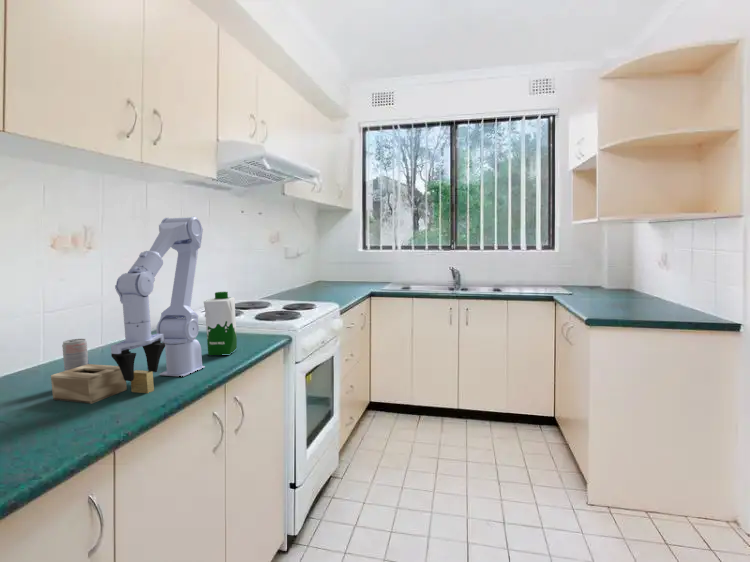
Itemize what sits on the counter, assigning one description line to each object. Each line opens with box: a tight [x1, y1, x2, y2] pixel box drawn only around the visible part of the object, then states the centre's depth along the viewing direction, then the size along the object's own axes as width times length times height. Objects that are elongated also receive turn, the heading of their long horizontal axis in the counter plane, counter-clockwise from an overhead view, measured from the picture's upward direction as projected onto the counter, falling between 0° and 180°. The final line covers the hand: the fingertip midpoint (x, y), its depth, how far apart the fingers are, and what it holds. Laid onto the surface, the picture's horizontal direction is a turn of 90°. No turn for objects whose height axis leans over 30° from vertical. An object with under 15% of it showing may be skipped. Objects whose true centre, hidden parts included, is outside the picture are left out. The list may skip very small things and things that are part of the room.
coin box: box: [50, 363, 128, 404], centre depth 113 cm, size 10×12×6 cm
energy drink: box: [61, 338, 90, 371], centre depth 121 cm, size 5×5×12 cm
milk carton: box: [203, 291, 238, 356], centre depth 151 cm, size 9×9×20 cm
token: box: [130, 369, 155, 394], centre depth 115 cm, size 2×5×5 cm, turn 73°
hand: (141, 376), depth 114 cm, fingers open, 7 cm apart
